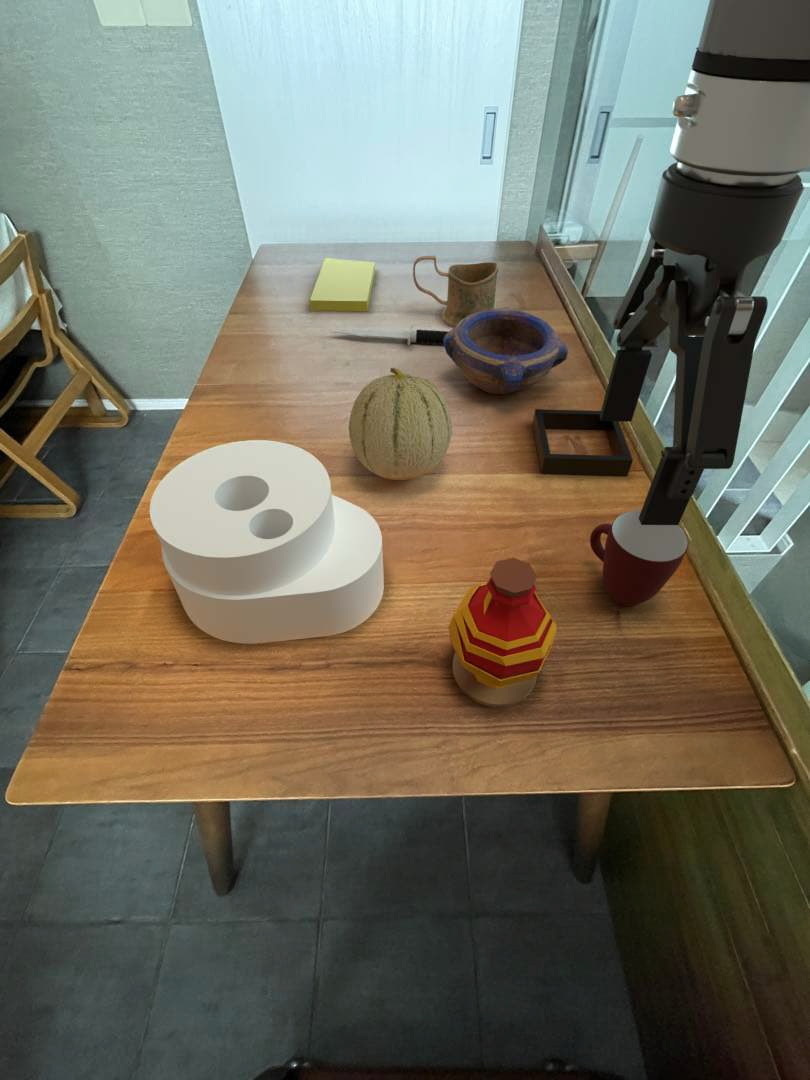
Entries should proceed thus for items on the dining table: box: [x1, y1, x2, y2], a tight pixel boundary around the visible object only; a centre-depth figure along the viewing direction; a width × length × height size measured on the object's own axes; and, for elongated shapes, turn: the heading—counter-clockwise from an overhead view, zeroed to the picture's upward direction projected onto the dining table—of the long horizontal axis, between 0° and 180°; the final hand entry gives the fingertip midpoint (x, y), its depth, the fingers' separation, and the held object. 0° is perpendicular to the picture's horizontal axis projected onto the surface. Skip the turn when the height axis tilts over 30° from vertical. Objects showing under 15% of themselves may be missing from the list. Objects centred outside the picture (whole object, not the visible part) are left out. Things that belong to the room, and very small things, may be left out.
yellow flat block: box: [309, 257, 376, 312], centre depth 132 cm, size 12×2×24 cm
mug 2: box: [589, 509, 689, 607], centre depth 67 cm, size 11×8×10 cm
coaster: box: [452, 651, 538, 708], centre depth 63 cm, size 9×9×1 cm
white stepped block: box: [149, 439, 385, 645], centre depth 67 cm, size 20×25×14 cm
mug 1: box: [412, 255, 499, 328], centre depth 118 cm, size 12×18×12 cm, turn 88°
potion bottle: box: [447, 557, 558, 689], centre depth 57 cm, size 10×10×15 cm
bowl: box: [443, 306, 569, 395], centre depth 101 cm, size 18×18×10 cm
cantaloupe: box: [348, 367, 453, 481], centre depth 82 cm, size 15×15×15 cm
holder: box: [532, 408, 633, 477], centre depth 89 cm, size 13×13×3 cm
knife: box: [329, 325, 450, 347], centre depth 114 cm, size 26×2×5 cm
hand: (634, 465), depth 48 cm, fingers open, 13 cm apart
